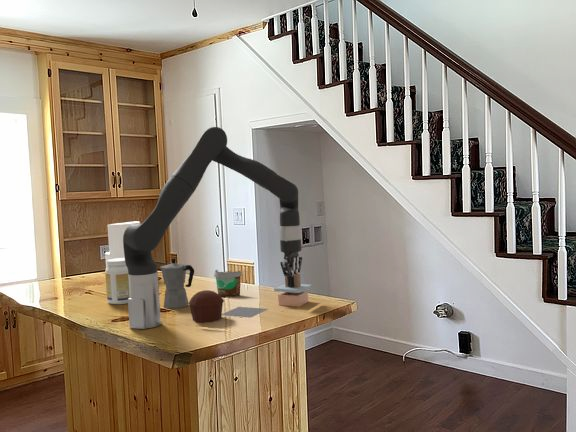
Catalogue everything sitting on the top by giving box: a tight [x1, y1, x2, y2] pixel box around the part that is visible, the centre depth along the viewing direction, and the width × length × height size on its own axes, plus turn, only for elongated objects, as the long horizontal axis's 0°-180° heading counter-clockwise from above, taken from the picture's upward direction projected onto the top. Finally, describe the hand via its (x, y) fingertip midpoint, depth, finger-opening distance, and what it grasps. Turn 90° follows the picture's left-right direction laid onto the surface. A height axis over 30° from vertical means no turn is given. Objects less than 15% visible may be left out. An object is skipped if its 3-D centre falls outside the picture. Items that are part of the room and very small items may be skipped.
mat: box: [221, 306, 268, 318], centre depth 188 cm, size 12×12×1 cm
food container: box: [213, 269, 243, 298], centre depth 220 cm, size 12×6×10 cm, turn 62°
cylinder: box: [104, 220, 141, 269], centre depth 270 cm, size 17×17×28 cm
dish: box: [277, 290, 309, 308], centre depth 198 cm, size 8×8×4 cm
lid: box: [273, 273, 312, 293], centre depth 197 cm, size 10×10×5 cm
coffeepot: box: [158, 257, 195, 310], centre depth 205 cm, size 15×9×18 cm, turn 66°
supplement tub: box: [104, 258, 130, 305], centre depth 219 cm, size 12×12×17 cm
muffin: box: [188, 289, 225, 324], centre depth 181 cm, size 12×11×10 cm
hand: (292, 286), depth 197 cm, fingers closed on lid
